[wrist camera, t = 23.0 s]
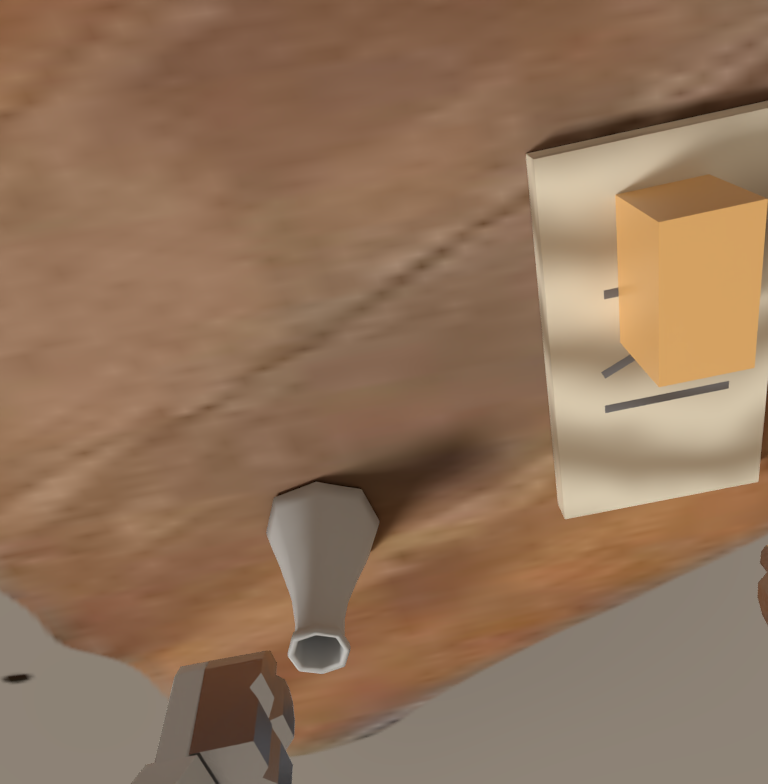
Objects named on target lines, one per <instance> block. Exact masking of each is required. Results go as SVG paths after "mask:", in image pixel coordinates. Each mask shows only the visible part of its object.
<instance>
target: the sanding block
mask: <svg viewBox="0 0 768 784" xmlns="http://www.w3.org/2000/svg"><path fill="white" fill-rule="evenodd" d="M615 200H616V230H617V260H618V291H619V321H620V343H621V344H622V345H623V347H624V348H625V349H626V350H627V351H628V352H629V353H630V355H631V356H632V357H633V358H634V359H635V360H636V362H637V363H638V364H639V365H640V366H641V367H642V368H643V370H644V371H645V372H646V373H647V374H648V375H649V377H650V378H651V379H652V380H653V381H654V382H655V383H656V385H657V386H658V387H663V386H668V385H673V384H678V383H683V382H688V381H693V380H697V379H702V378H707V377H712V376H717V375H722V374H727V373H732V372H737V371H742V370H747V369H752V368H755V357H756V344H757V332H758V319H759V306H760V293H761V280H762V268H763V255H764V242H765V229H766V216H767V203H768V199H767V198H765V197H762V196H760V195H758V194H755V193H753V192H751V191H748V190H746V189H743V188H741V187H739V186H736V185H734V184H731V183H729V182H727V181H724V180H722V179H720V178H717V177H715V176H712V175H710V174H708V175H704V176H699V177H694V178H690V179H685V180H681V181H676V182H671V183H667V184H662V185H658V186H653V187H648V188H644V189H639V190H635V191H630V192H625V193H621V194H616V195H615Z"/></svg>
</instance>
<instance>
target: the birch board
mask: <svg viewBox="0 0 768 784" xmlns="http://www.w3.org/2000/svg"><path fill="white" fill-rule="evenodd" d="M526 163H527V174H528V185H529V196H530V206H531V217H532V228H533V239H534V250H535V260H536V271H537V282H538V293H539V304H540V314H541V325H542V336H543V347H544V358H545V368H546V379H547V390H548V401H549V412H550V422H551V433H552V444H553V455H554V466H555V477H556V487H557V498H558V505H559V507H560V509H561V512H562V514H563V516H564V518H565V519H568V518H574V517H579V516H584V515H589V514H594V513H599V512H605V511H610V510H615V509H620V508H625V507H630V506H636V505H641V504H646V503H651V502H656V501H661V500H667V499H672V498H677V497H682V496H687V495H692V494H698V493H703V492H708V491H713V490H718V489H723V488H729V487H734V486H739V485H744V484H749V483H754V482H758V479H759V468H760V458H761V447H762V436H763V426H764V415H765V405H766V394H767V383H768V203H767V216H766V229H765V242H764V255H763V268H762V280H761V293H760V306H759V319H758V332H757V344H756V357H755V368H752V369H747V370H742V371H737V372H732V373H727V374H722V375H717V376H712V377H707V378H702V379H697V380H693V381H688V382H683V383H678V384H673V385H668V386H663V387H658V386H657V385H656V383H655V382H654V381H653V380H652V379H651V378H650V377H649V375H648V374H647V373H646V372H645V371H644V370H643V368H642V367H641V366H640V365H639V364H638V363H637V362H636V360H635V359H634V358H633V357H632V356H631V355H630V353H629V352H628V351H627V350H626V349H625V348H624V347H623V345H622V344H621V343H620V321H619V291H618V260H617V230H616V200H615V195H616V194H621V193H625V192H630V191H635V190H639V189H644V188H648V187H653V186H658V185H662V184H667V183H671V182H676V181H681V180H685V179H690V178H694V177H699V176H704V175H708V174H710V175H712V176H715V177H717V178H720V179H722V180H724V181H727V182H729V183H731V184H734V185H736V186H739V187H741V188H743V189H746V190H748V191H751V192H753V193H755V194H758V195H760V196H762V197H765V198H767V199H768V101H764V102H759V103H754V104H750V105H745V106H741V107H736V108H732V109H727V110H723V111H718V112H714V113H709V114H704V115H700V116H695V117H691V118H686V119H682V120H677V121H673V122H668V123H663V124H659V125H654V126H650V127H645V128H641V129H636V130H632V131H627V132H622V133H618V134H613V135H609V136H604V137H600V138H595V139H591V140H586V141H581V142H577V143H572V144H568V145H563V146H559V147H554V148H550V149H545V150H540V151H536V152H531V153H527V154H526Z"/></svg>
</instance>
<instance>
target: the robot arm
mask: <svg viewBox="0 0 768 784" xmlns="http://www.w3.org/2000/svg"><path fill="white" fill-rule="evenodd" d="M760 563H761V565H762V566H763V567H764V569H765V570H766V571H767V573H766V574H765V575H764V577H763V578H762V579H761V580H760V581H759V582H758V600H759V603H760V608H761V611H762V615H763V617H764V619H765V621H766V623H767V624H768V545H766V546H765V547H764V549H763V550H762V552H761V560H760ZM276 669H277V662H276V660H275V658H274V657H273V655H272V653H271V651H262V652H257V653H251V654H246V655H240V656H235V657H229V658H223V659H218V660H212V661H208V662H203V663H197V664H192V665H187V666H182V667H180V669H179V670H178V672H177V674H176V675H175V677H174V682H173V686H172V690H171V694H170V699H169V703H168V707H167V712H166V716H165V720H164V724H163V729H162V733H161V737H160V742H159V746H158V750H157V754H156V758H155V763H152V764H148V765H145V767H144V768H143V769H142V770H141V772H140V773H139V774H138V775H137V777H136V778H135V779H134V781H133V782H132V783H131V784H292V768H293V764H292V762H291V760H290V758H289V756H288V754H287V752H286V749H287V748H288V746H289V745H290V743H291V742H292V740H293V739H294V726H295V718H294V709H293V701H292V697H291V693H290V690H289V687H288V685H287V683H286V681H285V679H283V678H281V677H279V676H277V675H276Z"/></svg>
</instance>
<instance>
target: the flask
mask: <svg viewBox="0 0 768 784" xmlns="http://www.w3.org/2000/svg"><path fill="white" fill-rule="evenodd" d="M379 523H380V521H379V520H378V518H377V516H376V514H375V512H374V511H373V509H372V507H371V505H370V503H369V502H368V500H367V498H366V496H365V494H364V493H363V491H362V489H357V488H351V487H345V486H339V485H333V484H327V483H321V482H314V483H311V484H309V485H306V486H303V487H301V488H298V489H295V490H293V491H290V492H288V493H285V494H282V495H280V496H277V497H274V499H273V504H272V509H271V513H270V518H269V523H268V527H267V532H266V533H267V536H268V539H269V542H270V544H271V547H272V549H273V551H274V554H275V556H276V559H277V561H278V563H279V566H280V568H281V571H282V574H283V577H284V579H285V582H286V585H287V588H288V590H289V593H290V596H291V599H292V605H293V611H294V618H295V632H293V635H292V639H291V643H290V646H289V650H288V657H289V659H290V660H291V661H292V663H293V664H294V665H295V667H296V668H297V669H298V671H302V672H311V673H319V674H324V673H327V672H330V671H333V670H336V669H339V668H342V667H345V664H346V661H347V658H348V655H349V652H350V644H349V642H348V640H347V639H346V637H345V636H344V627H345V615H346V610H347V605H348V601H349V599H350V597H351V594H352V592H353V589H354V587H355V585H356V582H357V580H358V578H359V576H360V574H361V572H362V570H363V568H364V566H365V564H366V562H367V559H368V557H369V554H370V551H371V548H372V545H373V542H374V539H375V535H376V532H377V529H378V526H379Z"/></svg>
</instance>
